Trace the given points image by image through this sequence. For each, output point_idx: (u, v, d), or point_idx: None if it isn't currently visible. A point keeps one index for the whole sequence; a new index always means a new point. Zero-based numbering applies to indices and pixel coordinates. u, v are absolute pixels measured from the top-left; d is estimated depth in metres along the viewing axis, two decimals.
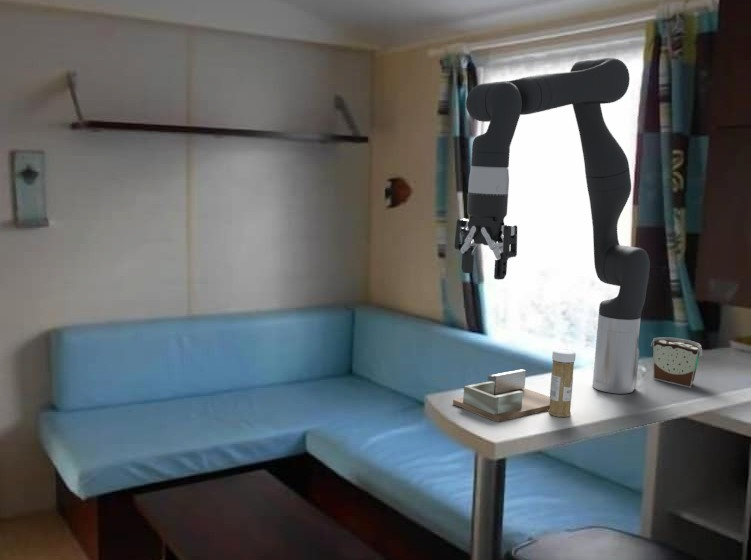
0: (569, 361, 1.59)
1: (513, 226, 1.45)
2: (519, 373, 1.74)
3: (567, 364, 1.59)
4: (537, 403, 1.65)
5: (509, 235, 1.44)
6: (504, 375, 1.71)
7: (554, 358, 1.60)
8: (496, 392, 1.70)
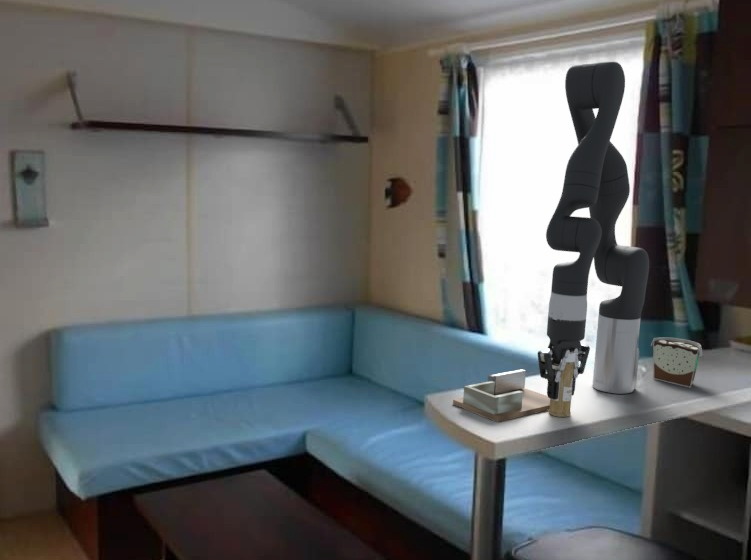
0: (569, 361, 1.59)
1: None
2: (519, 373, 1.74)
3: (567, 364, 1.59)
4: (537, 403, 1.65)
5: None
6: (504, 375, 1.71)
7: None
8: (496, 392, 1.70)
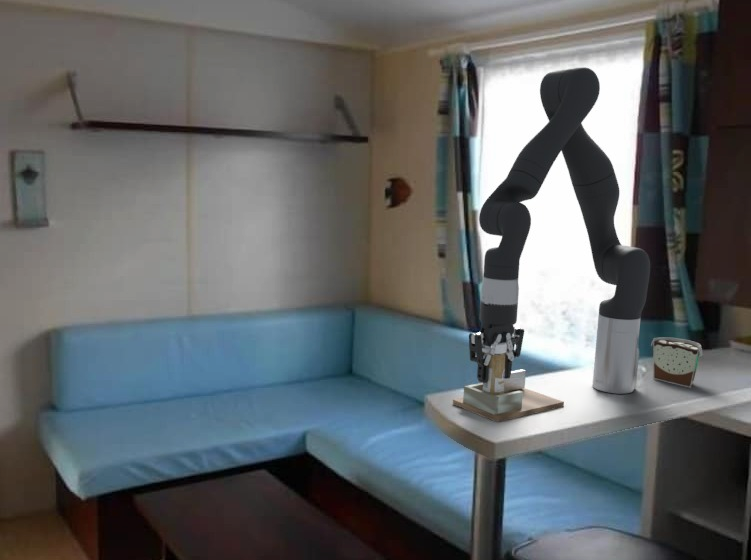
0: (500, 352, 1.59)
1: None
2: (519, 373, 1.74)
3: (498, 356, 1.59)
4: (537, 403, 1.65)
5: None
6: None
7: None
8: None
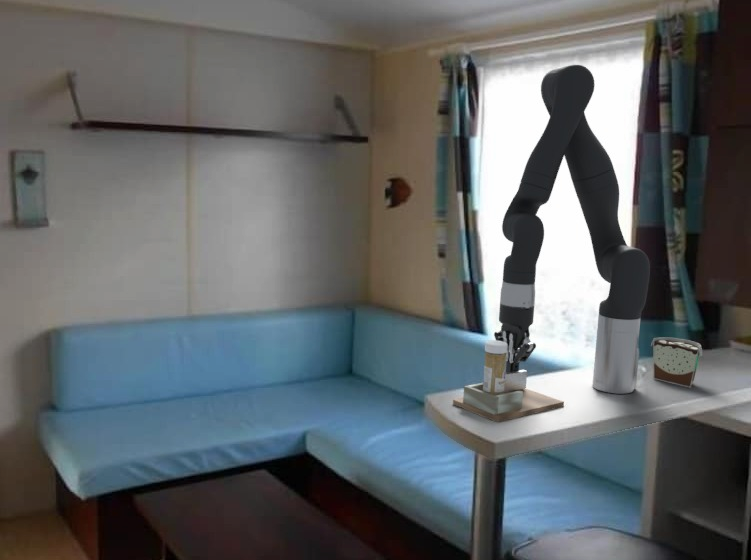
0: (500, 352, 1.59)
1: None
2: (520, 373, 1.74)
3: (498, 356, 1.59)
4: (537, 403, 1.65)
5: None
6: None
7: (486, 349, 1.60)
8: None
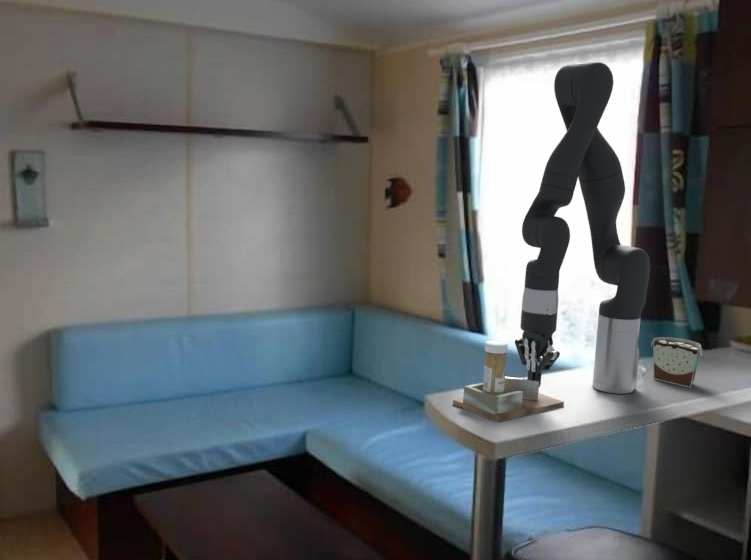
0: (500, 352, 1.59)
1: None
2: (529, 382, 1.67)
3: (498, 356, 1.59)
4: (537, 403, 1.65)
5: None
6: (506, 379, 1.68)
7: (486, 349, 1.60)
8: None
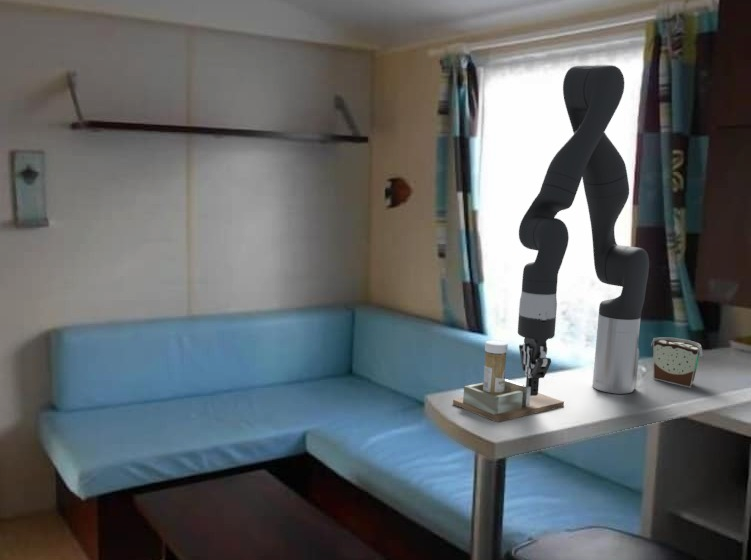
0: (500, 352, 1.59)
1: None
2: (519, 386, 1.63)
3: (498, 355, 1.59)
4: (537, 403, 1.65)
5: None
6: None
7: (486, 349, 1.60)
8: None
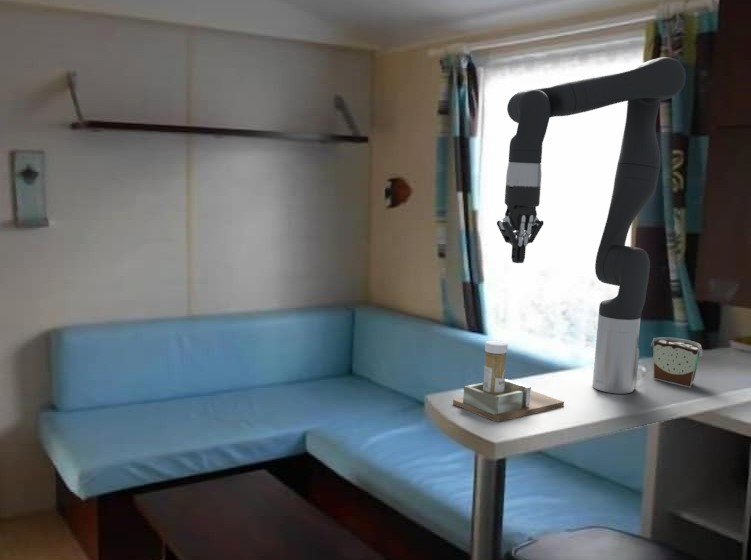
0: (500, 352, 1.59)
1: None
2: (519, 386, 1.63)
3: (498, 356, 1.59)
4: (537, 403, 1.65)
5: None
6: None
7: (486, 349, 1.60)
8: None
